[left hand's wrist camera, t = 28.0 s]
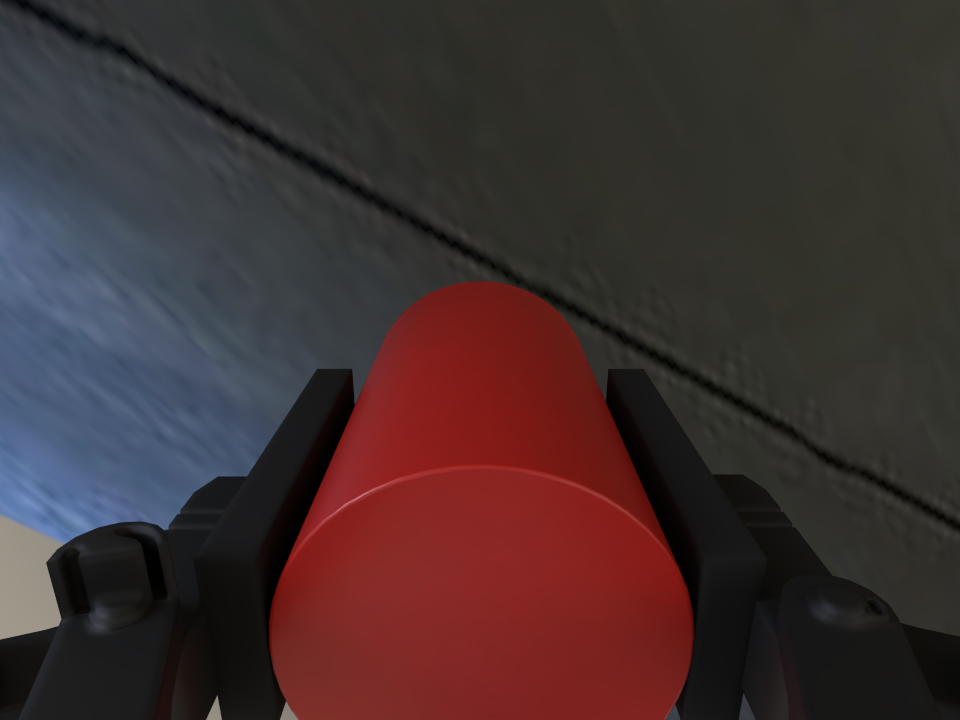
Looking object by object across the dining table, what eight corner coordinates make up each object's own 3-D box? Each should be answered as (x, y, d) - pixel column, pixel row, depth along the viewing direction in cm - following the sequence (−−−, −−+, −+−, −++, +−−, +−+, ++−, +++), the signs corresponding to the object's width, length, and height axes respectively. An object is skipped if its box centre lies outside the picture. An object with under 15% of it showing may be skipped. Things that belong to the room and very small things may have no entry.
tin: (444, 238, 16) (400, 381, 7) (629, 352, 17) (786, 598, 8) (337, 415, 17) (198, 705, 9) (512, 509, 18) (540, 853, 10)
